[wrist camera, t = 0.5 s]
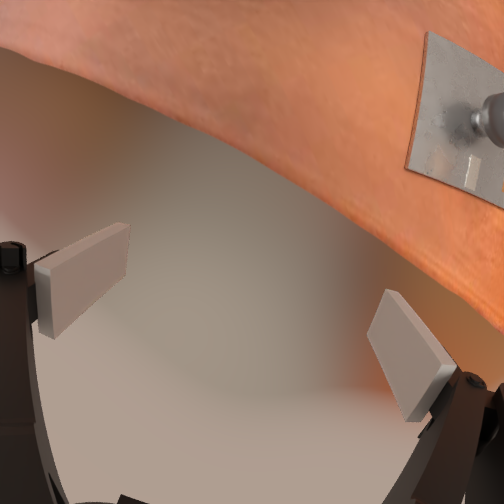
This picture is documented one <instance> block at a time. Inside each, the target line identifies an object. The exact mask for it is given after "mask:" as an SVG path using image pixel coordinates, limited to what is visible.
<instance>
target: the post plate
mask: <svg viewBox="0 0 504 504" xmlns="http://www.w3.org/2000/svg"><path fill="white" fill-rule="evenodd" d="M503 92H504V73H503V72H501V71H500V70H498V69H497V68H495V67H494V66H492V65H490V64H489V63H487V62H486V61H484V60H482V59H481V58H479V57H478V56H476V55H474V54H472V53H471V52H469V51H467V50H465V49H464V48H462V47H460V46H458V45H456V44H455V43H453V42H451V41H449V40H447V39H445V38H443V37H441V36H439V35H437V34H435V33H433V32H431V31H428V32H426V33H425V45H424V55H423V64H422V73H421V80H420V87H419V94H418V101H417V107H416V113H415V119H414V124H413V130H412V135H411V140H410V145H409V150H408V154H407V159H406V164H405V168H406V169H409V170H411V171H414V172H417V173H420V174H422V175H425V176H428V177H430V178H433V179H436V180H438V181H441V182H443V183H446V184H448V185H451V186H453V187H455V188H458V189H460V190H463V191H465V192H467V193H470V194H472V195H474V196H477V197H479V198H481V199H483V200H485V201H488V202H490V203H492V204H494V205H496V206H498V207H500V208H502V209H504V192H502V186H503V182H504V149H503V148H499V147H497V146H496V145H495V144H494V143H493V142H492V141H491V140H490V139H489V137H488V136H487V134H486V132H485V129H484V126H483V122H482V106H483V103H484V101H485V99H486V98H487V97H488V96H490V95H493V94H498V93H503Z"/></svg>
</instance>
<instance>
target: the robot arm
mask: <svg viewBox="0 0 504 504" xmlns="http://www.w3.org/2000/svg"><path fill="white" fill-rule="evenodd" d="M130 229H131V225H128V224H124V223H120V222H117V223H114V224H112V225H111V226H108V227H106V228H104V229H102V230H99V231H97V232H95V233H93V234H91V235H89V236H87V237H85V238H83V239H81V240H79V241H77V242H75V243H73V244H71V245H69V246H67V247H65V248H63V249H61V250H57V251H53V252H51V253H49V254H47V255H46V256H43V257H41V258H40V259H37V260H35V261H33V262H31V263H29V264H28V265H27V261H26V260H27V259H26V246H25V245H24V244H22V243H19V242H12V241H9V242H2V243H0V504H69V502H68V500H67V498H66V495H65V493H64V490H63V488H62V485H61V482H60V479H59V476H58V473H57V469H56V466H55V462H54V459H53V455H52V452H51V448H50V444H49V440H48V436H47V431H46V427H45V422H44V417H43V412H42V407H41V401H40V395H39V389H38V382H37V375H36V367H35V359H34V347H33V334H32V326H31V324H32V323H33V322H34V321H35V320H37V319H38V327H39V333H42V334H44V335H46V336H48V337H50V338H52V339H55V338H56V337H58V336H59V335H60V334H61V333H62V332H63V331H64V330H65V329H66V328H67V327H68V326H69V325H71V324H72V323H73V322H74V321H75V320H76V319H77V318H78V317H79V316H80V315H81V314H83V313H84V312H85V311H86V310H87V309H88V308H89V307H90V306H91V305H93V304H94V303H95V302H96V301H97V300H98V299H99V298H100V297H101V296H103V295H104V294H105V293H106V292H107V291H108V290H109V289H110V288H112V287H113V286H114V285H115V284H116V283H117V282H118V281H120V280H121V279H122V278H123V277H124V276H125V274H126V263H127V253H128V245H129V236H130ZM367 337H368V339H369V341H370V343H371V345H372V348H373V350H374V352H375V354H376V356H377V358H378V360H379V363H380V365H381V367H382V369H383V371H384V374H385V376H386V378H387V380H388V382H389V385H390V387H391V389H392V392H393V394H394V396H395V399H396V401H397V403H398V406H399V408H400V410H401V413H402V415H403V417H404V420H405V422H421V421H422V420H423V418H424V417H425V415H426V414H427V413H428V411H430V413H431V415H432V418H431V420H430V421H429V422H428V424H427V425H426V426H425V428H424V429H423V430H422V432H421V433H420V434H419V436H418V438H420V440H419V442H418V444H417V446H416V447H415V449H414V451H413V453H412V455H411V457H410V459H409V460H408V462H407V464H406V466H405V467H404V469H403V471H402V473H401V474H400V476H399V478H398V479H397V481H396V483H395V484H394V486H393V487H392V489H391V491H390V492H389V494H388V495H387V497H386V498H385V500H384V501H383V503H382V504H461V503H462V500H463V497H464V494H465V504H504V383H501V385H500V386H499V387H498V389H497V390H496V392H491V391H488V390H487V387H486V384H485V382H484V381H483V380H482V379H481V378H480V377H479V376H478V375H476V374H473V373H470V372H462V371H461V369H460V368H459V367H458V365H457V364H456V363H455V361H454V360H453V359H452V357H451V356H450V355H449V354H448V352H447V351H446V349H445V348H444V347H443V346H442V345H441V344H440V343H439V341H438V340H437V339H436V338H435V336H434V335H433V334H432V333H431V331H430V330H429V329H428V327H427V326H426V325H425V324H424V323H423V321H422V320H421V319H420V318H419V316H418V315H417V314H416V313H415V311H414V310H413V309H412V308H411V307H410V305H409V304H408V303H407V302H406V301H405V300H404V298H403V297H402V296H401V295H400V294H399V293H398V292H396V291H393V290H388V289H385V292H384V294H383V297H382V299H381V302H380V304H379V307H378V309H377V311H376V314H375V316H374V319H373V321H372V323H371V326H370V328H369V330H368V332H367ZM76 504H113V503H103V502H85V503H76ZM117 504H148V503H145V502H141V501H139V500H136V499H133V498H130V497H127V496H125V495H122V494H121V495H120V498H119V500H118V503H117Z"/></svg>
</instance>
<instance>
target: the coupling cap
mask: <svg viewBox="0 0 504 504" xmlns="http://www.w3.org/2000/svg"><path fill="white" fill-rule="evenodd" d="M482 122H483V126H484V129H485V132H486V134H487V136H488V137H489V139H490V140H491V141H492V142H493V143H494V144H495V145H496V146H497V147H499V148H503V149H504V92H503V93H498V94H493V95H490V96H488V97H487V98H486V99H485V101H484V103H483V106H482ZM502 192H504V182H503V186H502Z"/></svg>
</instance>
